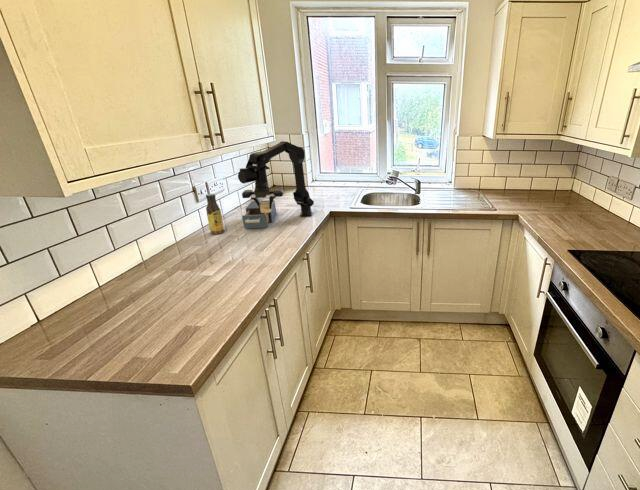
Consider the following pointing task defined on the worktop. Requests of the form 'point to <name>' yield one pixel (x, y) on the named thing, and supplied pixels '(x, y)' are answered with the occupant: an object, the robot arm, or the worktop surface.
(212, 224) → the sauce bottle
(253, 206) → the cabinet
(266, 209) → the block
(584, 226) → the worktop surface
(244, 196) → the robot arm
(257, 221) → the drawer
